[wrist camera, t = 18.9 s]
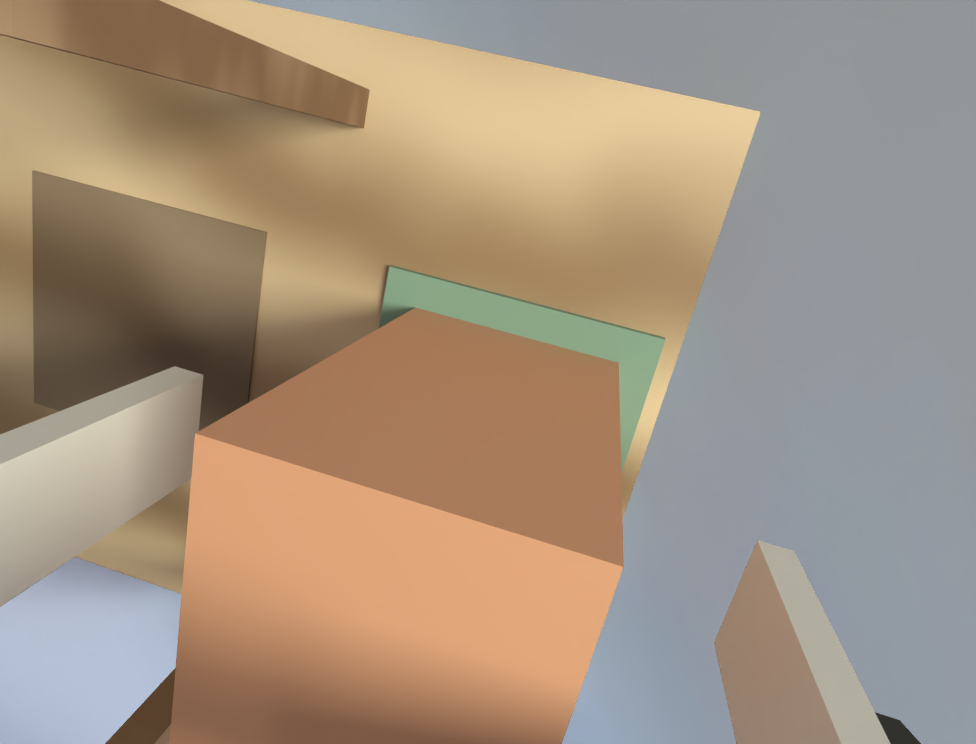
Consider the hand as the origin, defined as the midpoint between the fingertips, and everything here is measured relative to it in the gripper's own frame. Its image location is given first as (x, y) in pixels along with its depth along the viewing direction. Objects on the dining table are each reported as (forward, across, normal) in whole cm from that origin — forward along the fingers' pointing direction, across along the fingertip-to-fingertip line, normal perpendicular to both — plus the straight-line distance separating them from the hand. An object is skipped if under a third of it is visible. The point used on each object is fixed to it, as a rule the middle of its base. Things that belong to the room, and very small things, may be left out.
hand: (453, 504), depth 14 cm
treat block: (+5, 0, 0) cm, 5 cm away
